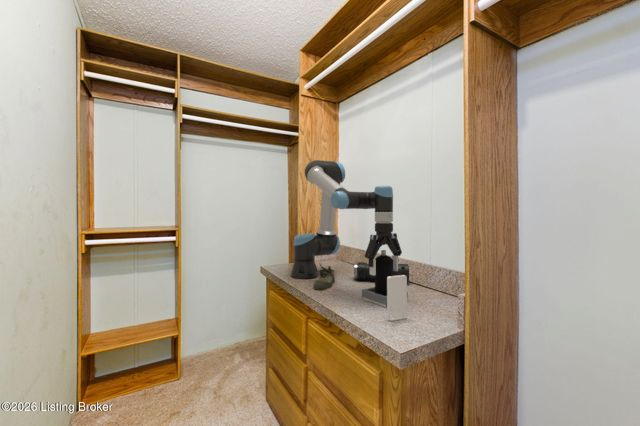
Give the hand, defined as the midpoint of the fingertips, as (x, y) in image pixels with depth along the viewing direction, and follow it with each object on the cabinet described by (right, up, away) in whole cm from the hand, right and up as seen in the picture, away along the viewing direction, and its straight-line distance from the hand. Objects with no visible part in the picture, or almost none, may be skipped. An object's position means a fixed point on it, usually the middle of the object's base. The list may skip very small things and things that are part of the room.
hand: (384, 272), depth 120 cm
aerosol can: (0, -11, 0) cm, 11 cm away
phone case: (0, -12, -21) cm, 24 cm away
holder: (0, -12, 0) cm, 12 cm away
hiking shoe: (-24, -12, +22) cm, 35 cm away
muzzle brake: (+5, -12, +31) cm, 33 cm away
